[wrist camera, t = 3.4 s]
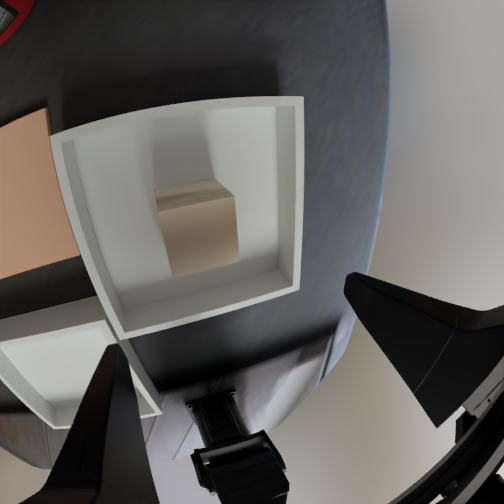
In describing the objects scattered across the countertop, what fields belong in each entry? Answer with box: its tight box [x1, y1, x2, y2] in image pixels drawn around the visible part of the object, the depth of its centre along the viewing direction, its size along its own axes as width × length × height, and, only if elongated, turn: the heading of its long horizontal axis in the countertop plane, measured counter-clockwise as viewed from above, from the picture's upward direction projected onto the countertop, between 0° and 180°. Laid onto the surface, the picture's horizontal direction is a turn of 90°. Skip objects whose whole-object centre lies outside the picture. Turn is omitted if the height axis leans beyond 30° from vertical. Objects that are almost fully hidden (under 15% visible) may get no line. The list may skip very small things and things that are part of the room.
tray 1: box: [0, 295, 163, 429], centre depth 19 cm, size 14×14×3 cm
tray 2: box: [49, 96, 304, 340], centre depth 17 cm, size 14×14×3 cm
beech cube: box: [154, 178, 240, 278], centre depth 16 cm, size 4×4×4 cm
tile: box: [0, 108, 81, 279], centre depth 12 cm, size 10×10×1 cm
